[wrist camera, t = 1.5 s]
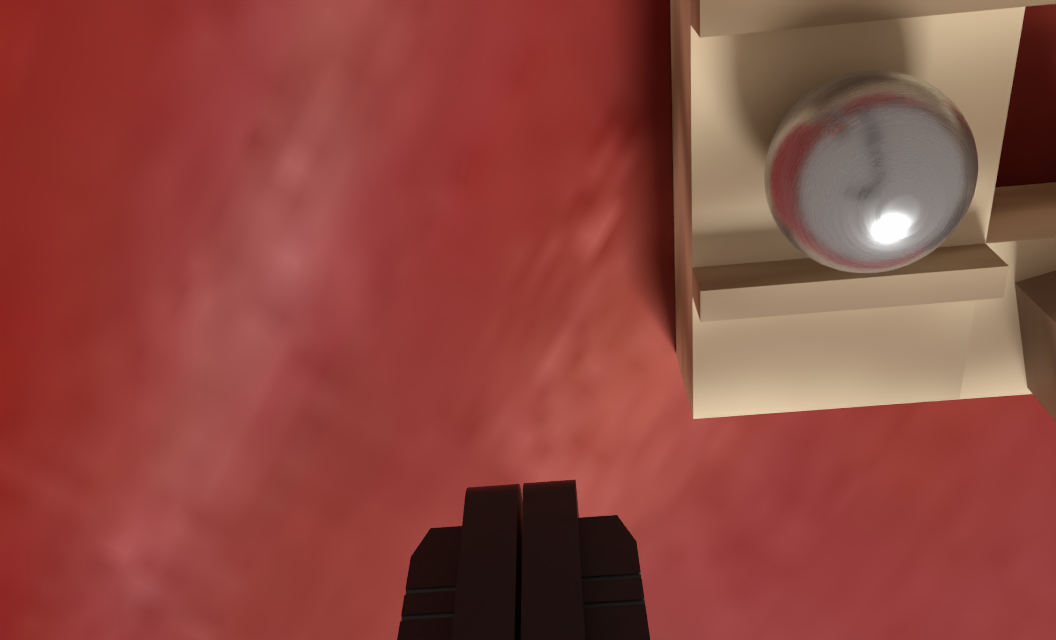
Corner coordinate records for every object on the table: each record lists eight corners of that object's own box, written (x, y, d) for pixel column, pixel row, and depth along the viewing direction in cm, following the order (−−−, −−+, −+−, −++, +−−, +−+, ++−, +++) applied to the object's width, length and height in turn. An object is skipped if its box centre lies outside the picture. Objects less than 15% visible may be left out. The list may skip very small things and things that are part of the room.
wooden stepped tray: (666, -218, 24) (711, -228, 18) (1369, -296, 23) (1668, -333, 17) (676, 354, 33) (708, 478, 27) (1186, 314, 32) (1340, 433, 26)
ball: (748, 58, 24) (796, 114, 19) (942, 40, 23) (1035, 92, 19) (744, 232, 26) (786, 317, 22) (919, 217, 26) (997, 299, 22)
